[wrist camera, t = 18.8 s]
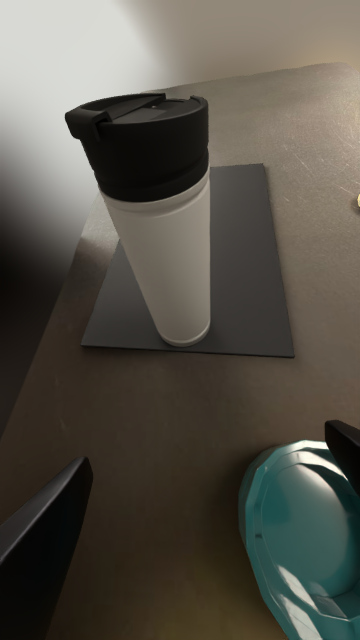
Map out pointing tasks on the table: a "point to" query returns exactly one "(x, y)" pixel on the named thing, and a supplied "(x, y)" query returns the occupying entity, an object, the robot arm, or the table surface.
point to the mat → (212, 281)
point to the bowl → (303, 540)
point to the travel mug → (156, 199)
